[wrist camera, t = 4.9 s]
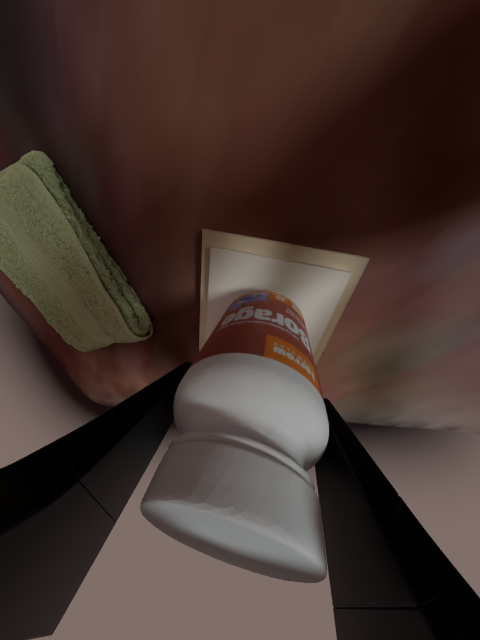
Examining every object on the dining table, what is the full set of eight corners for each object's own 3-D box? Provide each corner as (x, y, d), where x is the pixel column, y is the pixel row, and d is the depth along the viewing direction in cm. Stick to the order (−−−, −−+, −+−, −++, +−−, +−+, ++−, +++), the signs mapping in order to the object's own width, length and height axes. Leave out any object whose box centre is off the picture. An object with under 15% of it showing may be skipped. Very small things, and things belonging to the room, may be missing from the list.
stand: (362, 256, 13) (375, 260, 11) (307, 370, 19) (310, 385, 17) (208, 229, 14) (198, 229, 12) (203, 344, 20) (195, 355, 18)
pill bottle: (316, 296, 12) (471, 590, 2) (290, 361, 15) (310, 600, 5) (229, 278, 12) (68, 452, 3) (222, 344, 16) (132, 532, 6)
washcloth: (55, 145, 14) (-2, 124, 11) (164, 329, 21) (147, 345, 18) (-16, 211, 18) (-70, 208, 15) (95, 345, 25) (71, 360, 22)
